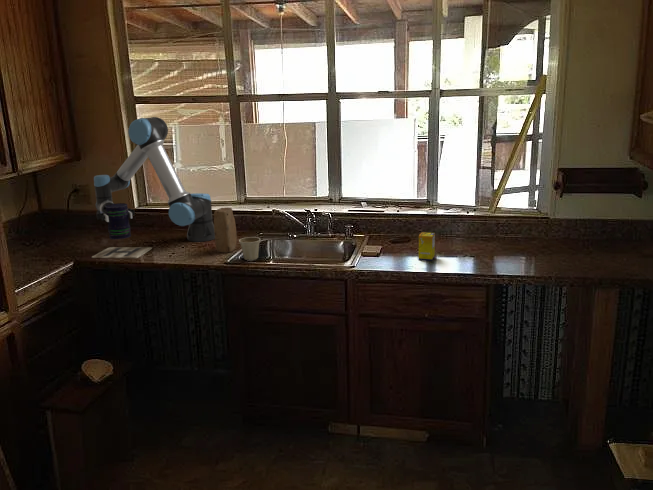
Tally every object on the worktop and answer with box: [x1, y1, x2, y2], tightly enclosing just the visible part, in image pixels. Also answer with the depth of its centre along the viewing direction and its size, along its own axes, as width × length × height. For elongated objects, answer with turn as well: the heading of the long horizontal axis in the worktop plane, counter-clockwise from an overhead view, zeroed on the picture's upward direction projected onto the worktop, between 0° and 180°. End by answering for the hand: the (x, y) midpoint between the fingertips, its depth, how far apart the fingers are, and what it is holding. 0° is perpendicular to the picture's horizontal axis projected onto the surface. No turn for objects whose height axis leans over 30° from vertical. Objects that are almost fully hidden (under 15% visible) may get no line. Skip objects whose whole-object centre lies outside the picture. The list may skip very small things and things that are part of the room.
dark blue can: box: [105, 202, 132, 240], centre depth 268 cm, size 10×10×15 cm
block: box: [213, 207, 238, 254], centre depth 268 cm, size 11×8×20 cm
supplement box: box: [417, 231, 436, 262], centre depth 246 cm, size 6×6×11 cm
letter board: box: [91, 246, 153, 259], centre depth 271 cm, size 22×16×1 cm
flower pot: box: [238, 236, 261, 261], centre depth 255 cm, size 9×9×9 cm
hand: (119, 217), depth 264 cm, fingers closed on dark blue can, 10 cm apart
